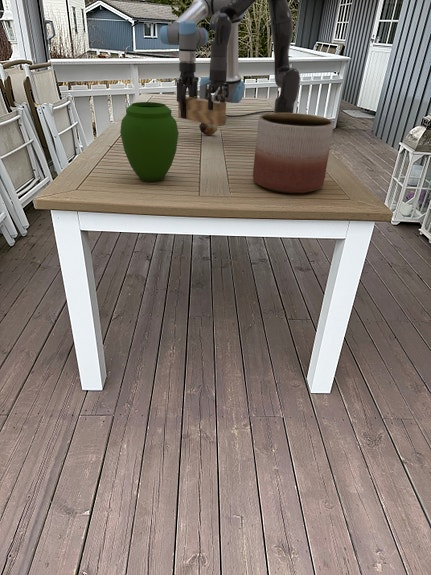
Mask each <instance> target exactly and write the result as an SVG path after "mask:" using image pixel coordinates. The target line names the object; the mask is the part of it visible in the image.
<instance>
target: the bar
mask: <svg viewBox="0 0 431 575" xmlns="http://www.w3.org/2000/svg"><path fill="white" fill-rule="evenodd" d="M185 103H186V118H181V110H180V103H179V102H177V104H178V106H177V108H178V116H177V118H178V119H182V120H186V121H192V122H196V123H200V124H201V123H206V124H211V125H216V126H217V127H221V126H225V125H226V115H227V102H225V103H224V102H220V101H219V102H218V101H213V110H208V100H206V99H200V98H199V97H197V98H194V97H189V96H188V95H186V98H185Z"/></svg>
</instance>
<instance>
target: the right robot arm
mask: <svg viewBox="0 0 431 575" xmlns="http://www.w3.org/2000/svg"><path fill="white" fill-rule="evenodd" d="M255 2H257V0H230V1H229V2H228V3H227V4H226V5H225V6H223V7H222V8H221V9H219V10H218V11H217V12H216V13H215V14H214V15H213V16H212V17H210V21H209V28H210V30H211V31H212V32H213V33H214V37H213V38H214V39H213V41H212V42H211V45H210V60H209V76H208V77H209V80H210V81H211V85H210V84H206V89H205V99H207V100H208V110H213V100H214V98H215V97H216V95H219V96H220V98H221V99H220V101H219V102H224V103H226V102H225V100H226V98H228V97H229V83H224V82H225V81H226V80H227V53H228V43H229V39H230V34H231V28H232V23H231V22H232V21H233V20H235V19H237V18H239V17H240V16H242V15H243V14H244V15H245V13H246V12H247V11H248V10H249V9H250V8H251V7H252V6H253V5H254V4H255ZM268 9H269V18H270V20H269V21H270V29H271V30H270V31H271V37H272V48H273V49H272V50H273V58H274V60H273V62H274V64H273V65H274V69H273V70H274V82H275V84H276V85H275V86H277V87H278V88H279V89H280V94H279V96H277V97H276V98H275V100H274V108H273V111H274V112H273V113H294V108H295V103H296V100H297V98H298V94H299V88H300V82H301V74H300V72H299V70H298V69H297V68H294V67H291V66H290V56H289V55H290V54H289V52H290V48H291V44H292V40H293V35H294V26H293V16H292V11H291V8H290V6H289V3H288V1H287V0H268ZM225 92H226V93H225ZM208 94H209V96H208ZM225 94H226V95H225ZM211 96H212V98H211Z"/></svg>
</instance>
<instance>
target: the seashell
mask: <svg viewBox="0 0 431 575" xmlns="http://www.w3.org/2000/svg"><path fill="white" fill-rule="evenodd" d="M198 126H199V131H200V133H202V134H203V135H206V136H211V135H214V134H215V133H217V131H219V130H218V126H216V125H211V124H206V123H201V122H200V124H198Z"/></svg>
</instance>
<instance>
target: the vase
mask: <svg viewBox="0 0 431 575" xmlns="http://www.w3.org/2000/svg"><path fill="white" fill-rule="evenodd" d="M125 113H126V114H125V115H124V117H122V119H121V122H120V123H121V124H120V130H119V133H120V138H121V142H122V147H123V150H124V154H125V155H126V158H127V160H128V163H129V165H130V167H131V168H132V170H133V172H134V173H135V175H136V176H137V177H138V178H139V179H141V180H143V181H145V182H159V181H161V180H163V179H164V178H165V176H166V175H167V174H168V173H169V170H170V169H171V167H172V165H173V162H174V159H175V157H176V156H175V155H176V153H177V147H178V140H179V129H178V122H177V120H176V119H175V117H174V116H173V115H172V109H171V108H170V107H169V106H167V105H166V104H164V103H162V102H155V101H138V102H132V103H131V104H130V105H128V107H127V108H125Z"/></svg>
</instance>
